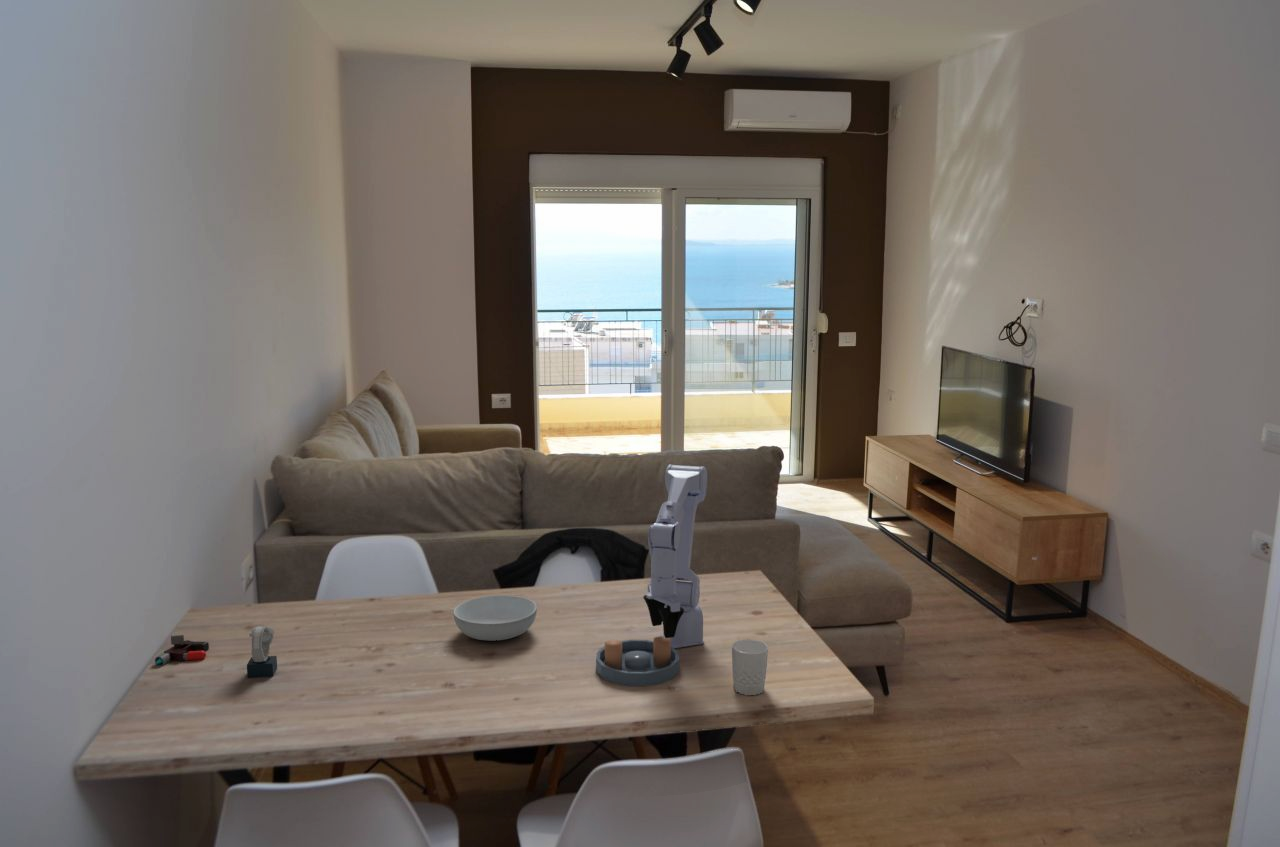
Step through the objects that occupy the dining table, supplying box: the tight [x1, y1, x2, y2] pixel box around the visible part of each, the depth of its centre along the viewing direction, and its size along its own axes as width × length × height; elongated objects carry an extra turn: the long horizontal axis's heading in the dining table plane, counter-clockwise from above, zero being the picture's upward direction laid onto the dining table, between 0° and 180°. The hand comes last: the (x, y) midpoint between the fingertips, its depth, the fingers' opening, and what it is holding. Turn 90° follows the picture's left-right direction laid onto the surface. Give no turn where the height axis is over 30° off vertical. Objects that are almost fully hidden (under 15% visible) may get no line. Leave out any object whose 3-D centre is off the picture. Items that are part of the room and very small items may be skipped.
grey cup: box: [731, 639, 769, 696], centre depth 210 cm, size 8×8×10 cm
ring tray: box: [595, 639, 680, 687], centre depth 221 cm, size 19×19×3 cm
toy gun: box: [154, 634, 210, 666], centre depth 225 cm, size 10×12×5 cm
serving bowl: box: [452, 594, 538, 642], centre depth 241 cm, size 21×21×7 cm
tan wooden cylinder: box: [604, 639, 622, 670], centre depth 218 cm, size 4×4×6 cm
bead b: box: [653, 635, 671, 668], centre depth 221 cm, size 4×4×6 cm
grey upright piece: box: [246, 624, 278, 679], centre depth 217 cm, size 6×8×11 cm
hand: (663, 631), depth 220 cm, fingers open, 7 cm apart
